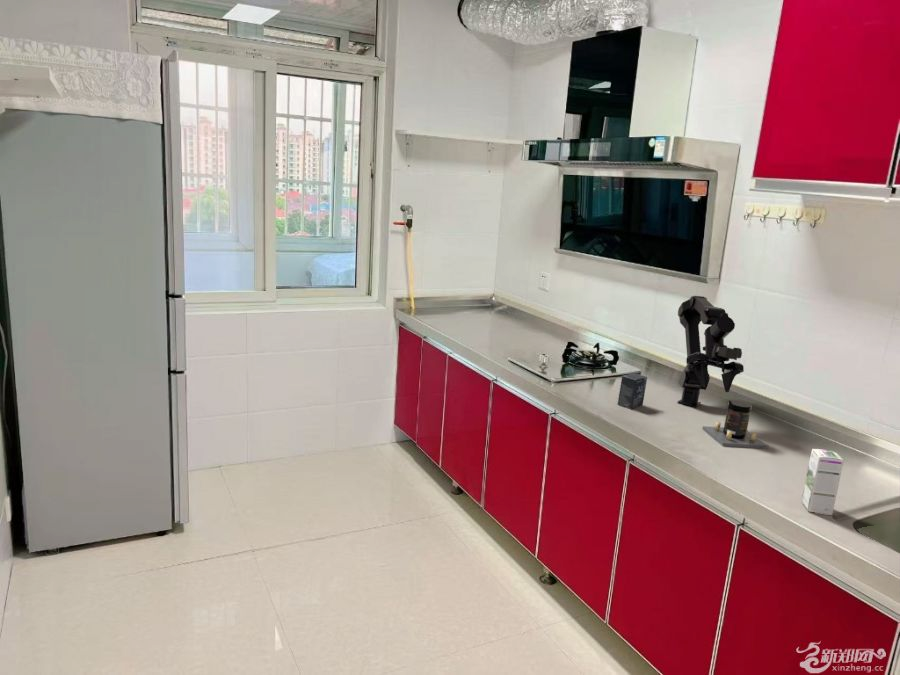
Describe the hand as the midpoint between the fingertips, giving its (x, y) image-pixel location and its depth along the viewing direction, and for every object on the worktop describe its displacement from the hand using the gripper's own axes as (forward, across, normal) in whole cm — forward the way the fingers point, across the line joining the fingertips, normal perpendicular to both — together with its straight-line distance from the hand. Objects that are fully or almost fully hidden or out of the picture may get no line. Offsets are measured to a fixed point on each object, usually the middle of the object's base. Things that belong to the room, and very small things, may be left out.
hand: (715, 389), depth 221 cm
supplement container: (+15, +4, -3) cm, 16 cm away
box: (+3, -14, +26) cm, 30 cm away
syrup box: (+42, -6, -40) cm, 58 cm away
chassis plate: (+16, +4, -3) cm, 17 cm away
